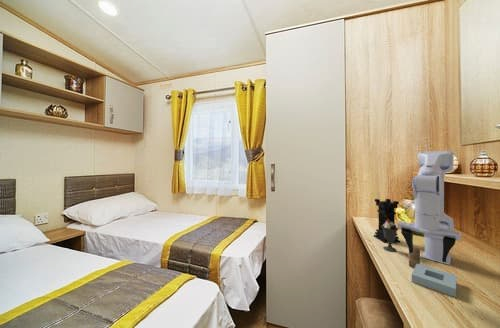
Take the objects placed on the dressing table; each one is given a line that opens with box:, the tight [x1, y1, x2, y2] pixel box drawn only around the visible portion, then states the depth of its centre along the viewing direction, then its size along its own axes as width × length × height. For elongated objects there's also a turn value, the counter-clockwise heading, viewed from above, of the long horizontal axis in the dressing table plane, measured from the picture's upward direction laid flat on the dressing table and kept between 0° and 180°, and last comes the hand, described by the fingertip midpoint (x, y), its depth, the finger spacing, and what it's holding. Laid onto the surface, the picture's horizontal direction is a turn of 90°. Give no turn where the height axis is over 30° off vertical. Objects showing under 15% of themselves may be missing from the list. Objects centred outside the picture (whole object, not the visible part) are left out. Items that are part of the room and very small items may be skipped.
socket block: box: [411, 263, 458, 298], centre depth 63 cm, size 10×10×2 cm
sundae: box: [381, 215, 399, 253], centre depth 87 cm, size 7×7×15 cm
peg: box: [408, 246, 421, 269], centre depth 73 cm, size 3×3×7 cm
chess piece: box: [373, 198, 401, 244], centre depth 98 cm, size 8×8×20 cm
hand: (426, 256), depth 61 cm, fingers open, 7 cm apart
